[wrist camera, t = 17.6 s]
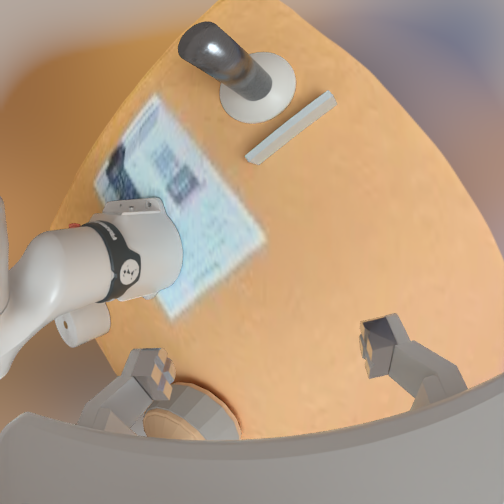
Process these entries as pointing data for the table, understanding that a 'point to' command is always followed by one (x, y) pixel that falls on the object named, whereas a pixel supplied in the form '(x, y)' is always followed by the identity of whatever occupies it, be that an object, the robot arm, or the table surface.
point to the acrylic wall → (292, 128)
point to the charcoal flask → (224, 60)
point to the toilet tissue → (84, 324)
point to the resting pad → (269, 104)
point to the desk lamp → (190, 416)
